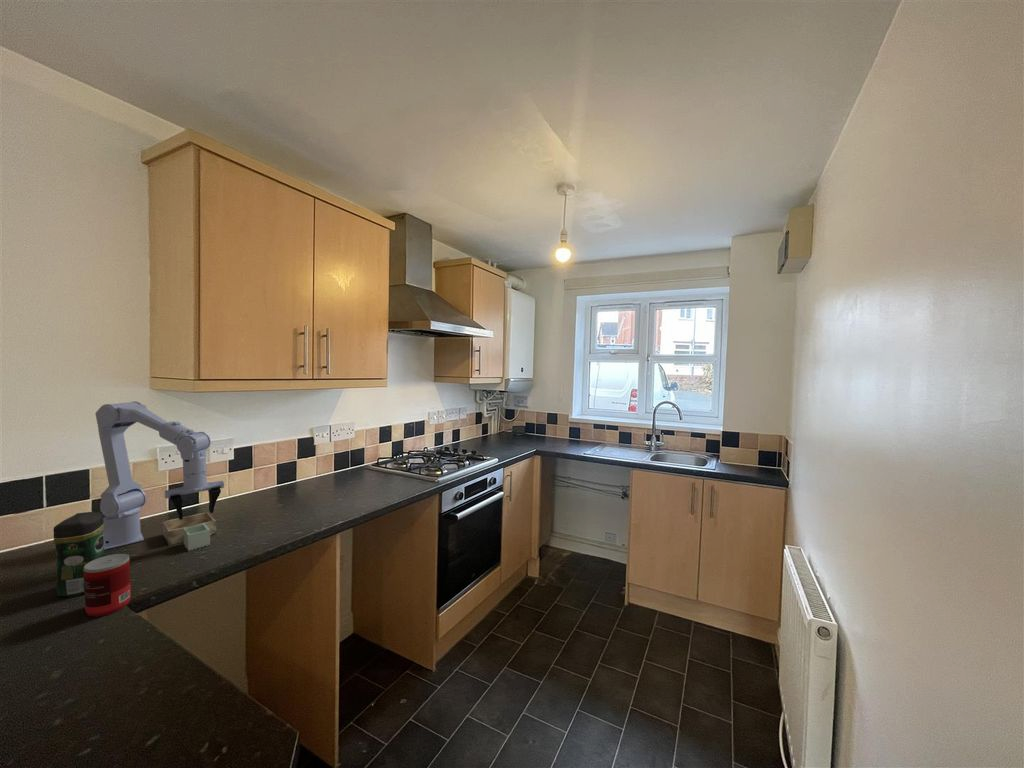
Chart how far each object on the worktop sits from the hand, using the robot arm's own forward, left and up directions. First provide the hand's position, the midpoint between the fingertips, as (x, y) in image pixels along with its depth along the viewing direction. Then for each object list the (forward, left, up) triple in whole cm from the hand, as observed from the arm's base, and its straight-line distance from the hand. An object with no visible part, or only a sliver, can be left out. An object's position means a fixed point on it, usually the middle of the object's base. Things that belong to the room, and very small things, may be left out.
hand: (196, 515), depth 128 cm
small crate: (0, 0, -9) cm, 9 cm away
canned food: (-21, -25, -10) cm, 34 cm away
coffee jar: (-25, -9, -10) cm, 28 cm away
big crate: (0, +11, -9) cm, 14 cm away
